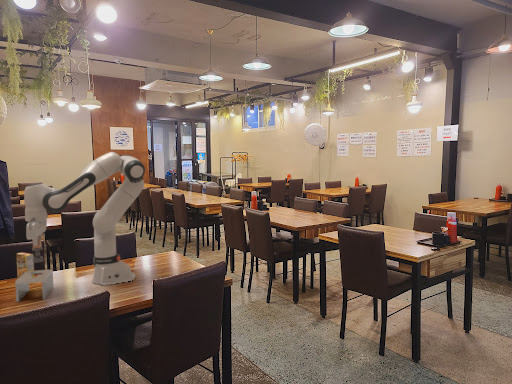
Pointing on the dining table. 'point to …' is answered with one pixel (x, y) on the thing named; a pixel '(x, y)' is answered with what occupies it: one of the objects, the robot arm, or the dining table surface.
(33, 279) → the grey bridge stand
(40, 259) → the pink-topped grey pedestal
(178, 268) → the dining table surface
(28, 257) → the candy box
